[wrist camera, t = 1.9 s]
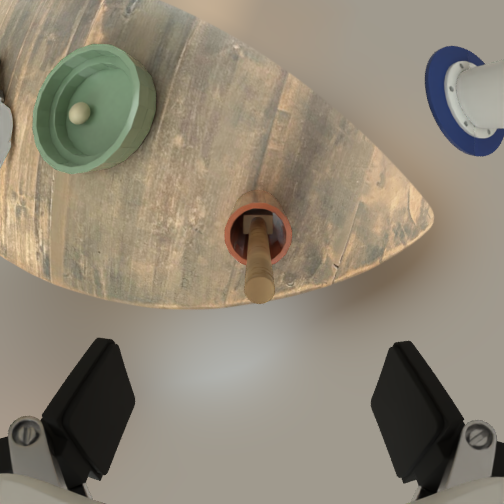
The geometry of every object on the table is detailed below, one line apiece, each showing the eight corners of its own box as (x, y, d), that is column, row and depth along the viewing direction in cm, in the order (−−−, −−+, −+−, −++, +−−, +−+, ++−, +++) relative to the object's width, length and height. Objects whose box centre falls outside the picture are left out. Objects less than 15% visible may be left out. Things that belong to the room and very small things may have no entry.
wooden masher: (270, 206, 34) (289, 273, 15) (270, 223, 34) (287, 307, 15) (244, 206, 34) (230, 272, 15) (244, 223, 34) (230, 307, 15)
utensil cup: (282, 190, 34) (293, 203, 24) (280, 237, 35) (290, 268, 26) (233, 189, 34) (224, 202, 24) (233, 237, 35) (225, 267, 26)
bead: (95, 101, 29) (83, 98, 26) (94, 123, 30) (82, 121, 27) (77, 105, 29) (64, 103, 26) (76, 126, 30) (63, 125, 27)
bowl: (161, 47, 28) (144, 30, 22) (157, 164, 33) (138, 166, 27) (62, 72, 28) (38, 64, 22) (59, 175, 33) (33, 180, 27)
